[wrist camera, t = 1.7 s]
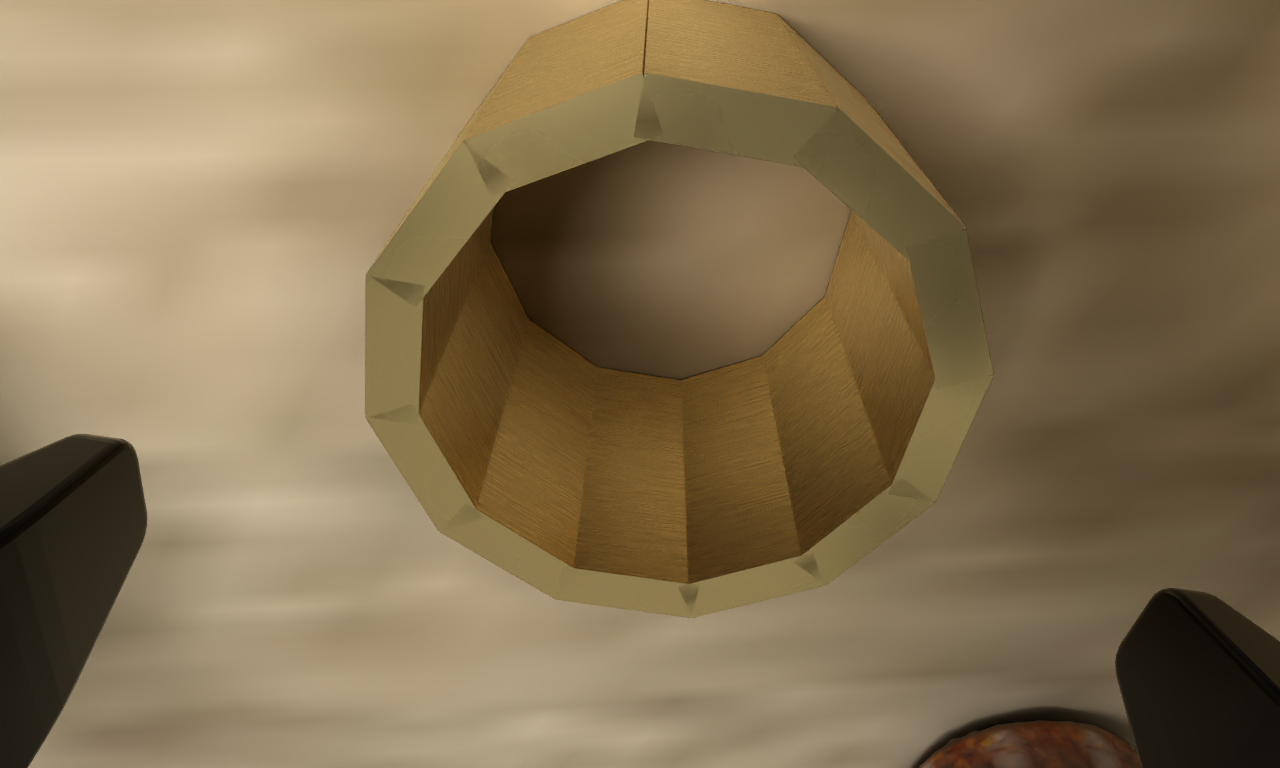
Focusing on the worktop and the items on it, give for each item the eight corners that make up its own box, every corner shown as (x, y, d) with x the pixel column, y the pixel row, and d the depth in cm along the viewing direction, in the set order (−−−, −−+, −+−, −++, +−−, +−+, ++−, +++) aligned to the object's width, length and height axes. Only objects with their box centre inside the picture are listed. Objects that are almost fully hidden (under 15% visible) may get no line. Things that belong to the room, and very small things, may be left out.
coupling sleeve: (816, 429, 16) (872, 642, 12) (445, 372, 16) (365, 573, 11) (946, 45, 12) (1093, 154, 8) (470, -44, 12) (365, 22, 8)
